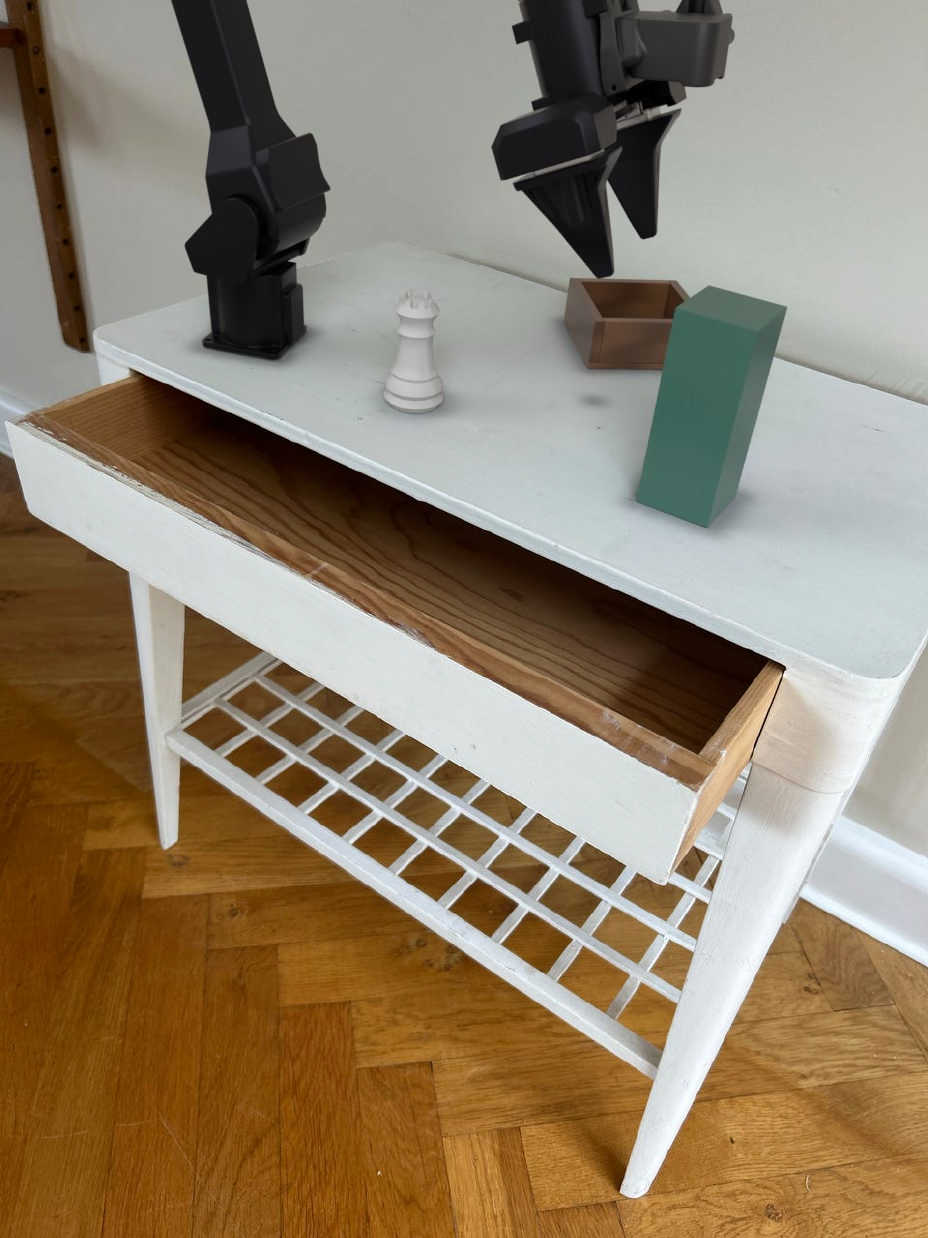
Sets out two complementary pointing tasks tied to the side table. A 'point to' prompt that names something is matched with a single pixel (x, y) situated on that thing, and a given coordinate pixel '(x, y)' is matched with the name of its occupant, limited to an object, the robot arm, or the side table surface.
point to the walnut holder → (622, 320)
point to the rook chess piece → (415, 356)
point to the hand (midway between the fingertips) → (628, 256)
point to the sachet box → (708, 402)
